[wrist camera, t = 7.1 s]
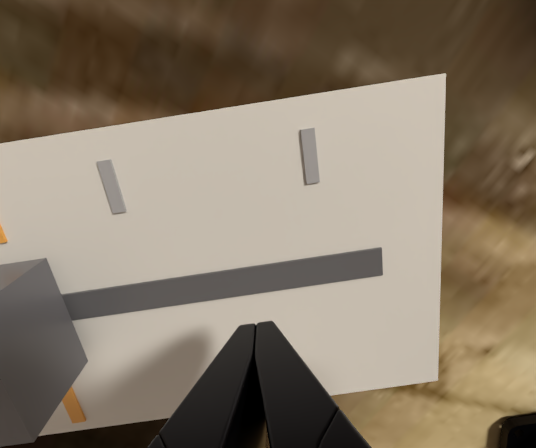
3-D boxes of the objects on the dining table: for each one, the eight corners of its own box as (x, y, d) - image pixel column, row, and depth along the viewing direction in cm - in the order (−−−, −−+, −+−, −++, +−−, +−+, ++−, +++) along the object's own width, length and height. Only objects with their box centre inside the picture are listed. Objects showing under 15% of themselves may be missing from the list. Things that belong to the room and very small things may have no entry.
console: (420, 353, 14) (439, 382, 13) (-33, 417, 15) (-65, 452, 13) (421, 77, 11) (447, 72, 9) (-178, 172, 11) (-247, 182, 10)
